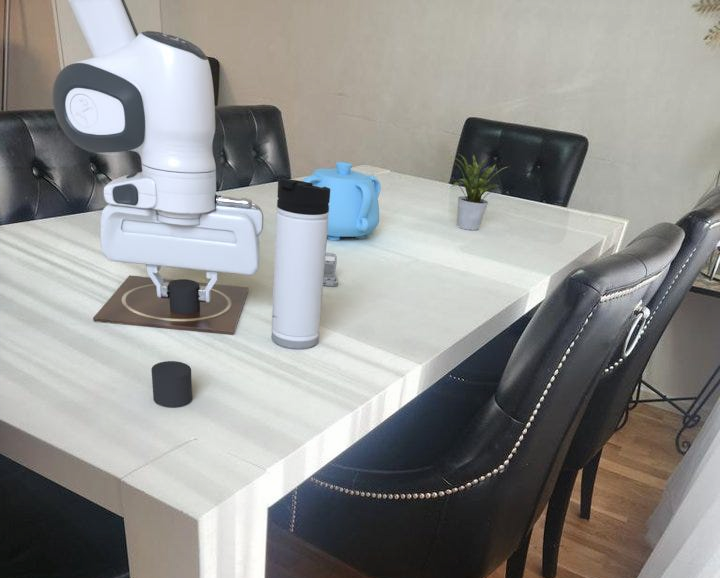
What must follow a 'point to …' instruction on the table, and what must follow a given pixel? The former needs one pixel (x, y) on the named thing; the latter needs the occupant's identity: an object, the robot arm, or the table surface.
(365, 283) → the table surface
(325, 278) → the strap clip
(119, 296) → the board
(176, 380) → the eye puck
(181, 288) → the eye puck
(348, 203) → the decorative pot
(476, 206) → the house plant
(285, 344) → the travel mug
